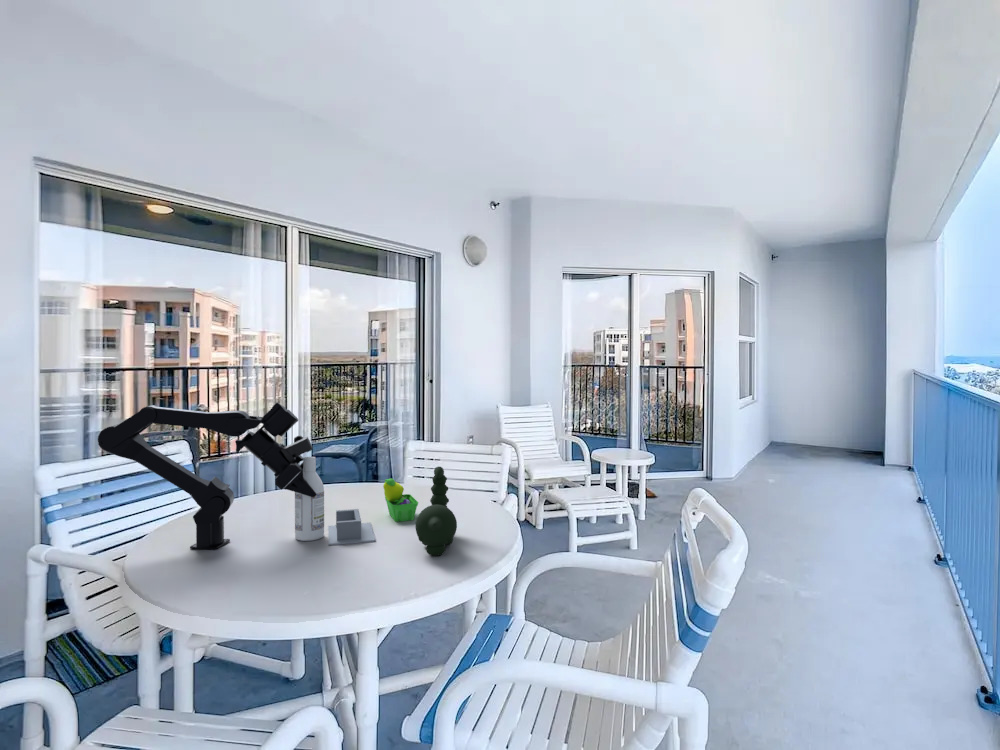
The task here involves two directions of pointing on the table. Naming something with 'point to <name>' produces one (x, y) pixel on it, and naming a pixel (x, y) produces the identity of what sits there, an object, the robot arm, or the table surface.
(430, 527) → the dark green ornament
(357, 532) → the gray square holder
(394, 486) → the fruit basket
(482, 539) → the table surface
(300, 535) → the bath foam
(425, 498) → the table surface
